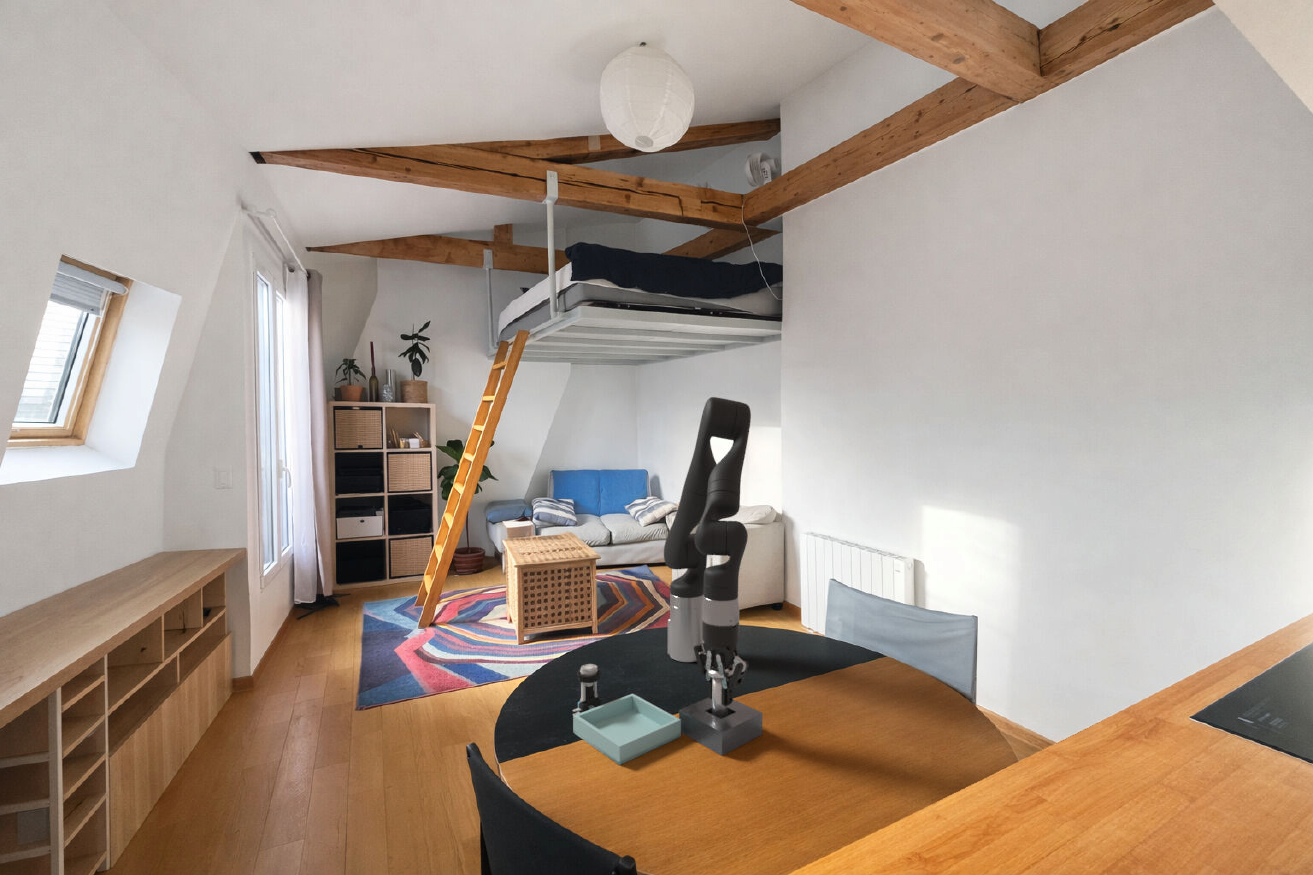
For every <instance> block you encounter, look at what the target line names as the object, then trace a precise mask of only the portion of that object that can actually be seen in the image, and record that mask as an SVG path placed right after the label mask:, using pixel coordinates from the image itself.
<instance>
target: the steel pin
mask: <svg viewBox="0 0 1313 875" xmlns="http://www.w3.org/2000/svg"><path fill="white" fill-rule="evenodd" d="M726 670H728V669H726ZM726 670H725V671H726ZM708 676H709V677H711V678H712V715H714V716H716V717H718V718H720V719H722V718H725V717H727V716H728V706H723V705H722V687H723V686H722V680H724V677H722V676H721V674H719V669H718V668H717V667H716V668H713V669H711V670H709V669H708ZM729 678H731V675H729V676H728V677H727V679H728V680H729Z"/></svg>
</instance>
